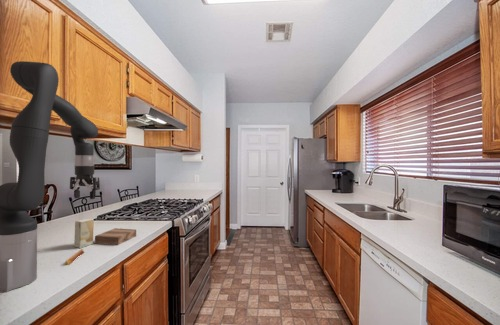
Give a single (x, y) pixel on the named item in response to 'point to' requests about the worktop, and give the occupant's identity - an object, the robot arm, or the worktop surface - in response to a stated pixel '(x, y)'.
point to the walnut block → (115, 236)
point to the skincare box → (83, 233)
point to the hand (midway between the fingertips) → (84, 198)
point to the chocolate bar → (73, 257)
